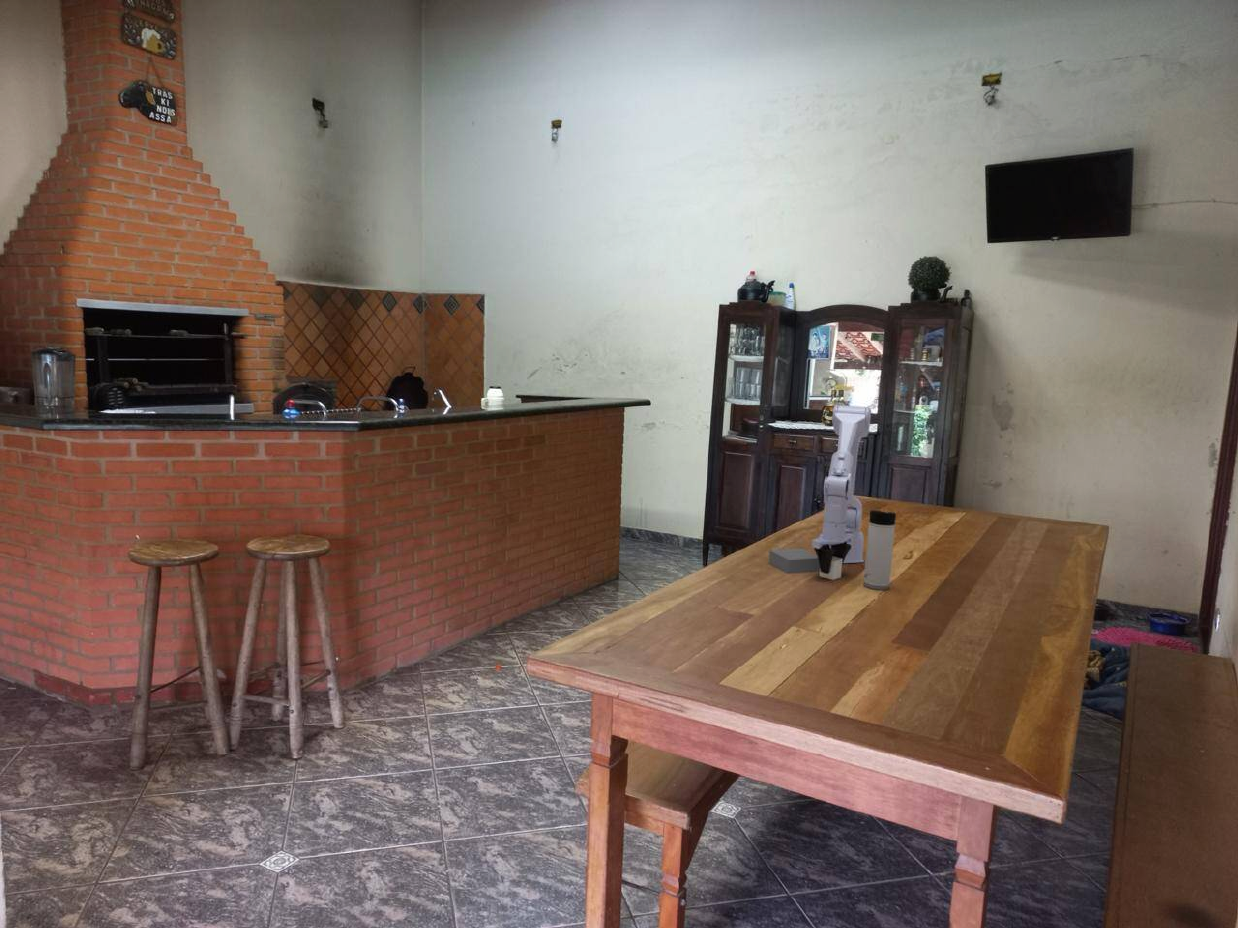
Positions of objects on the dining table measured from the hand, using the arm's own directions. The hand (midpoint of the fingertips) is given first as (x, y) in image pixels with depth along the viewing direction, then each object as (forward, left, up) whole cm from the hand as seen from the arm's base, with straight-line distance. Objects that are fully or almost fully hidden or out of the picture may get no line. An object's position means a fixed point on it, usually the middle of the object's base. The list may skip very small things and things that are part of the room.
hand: (830, 571), depth 204 cm
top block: (0, 0, -1) cm, 1 cm away
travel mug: (-7, +10, -2) cm, 12 cm away
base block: (+5, -10, -2) cm, 11 cm away
